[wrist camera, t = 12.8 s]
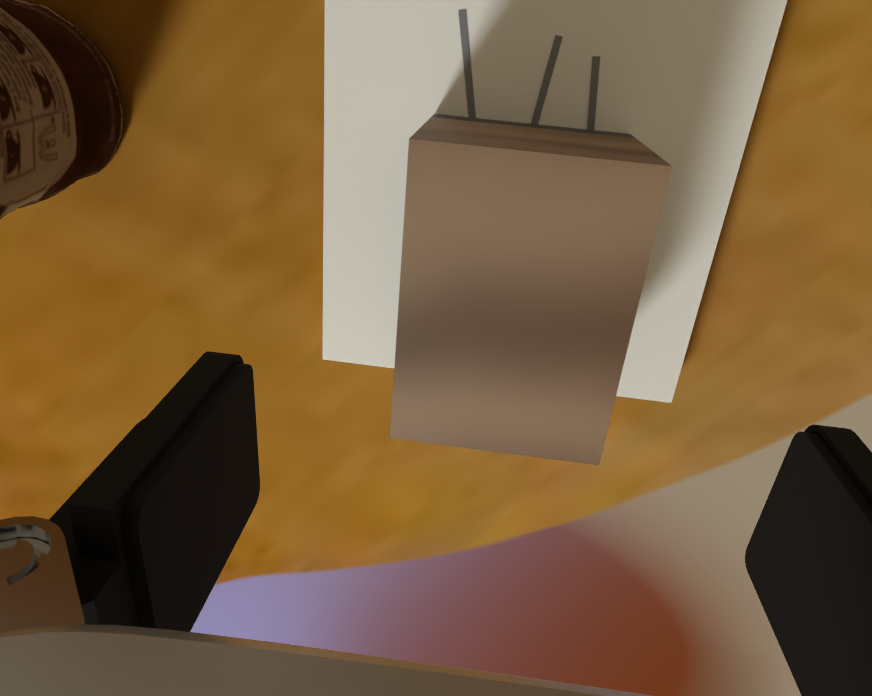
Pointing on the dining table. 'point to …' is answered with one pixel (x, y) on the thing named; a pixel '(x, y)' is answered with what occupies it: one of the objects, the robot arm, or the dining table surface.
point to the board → (544, 105)
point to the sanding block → (520, 283)
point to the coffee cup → (51, 105)
